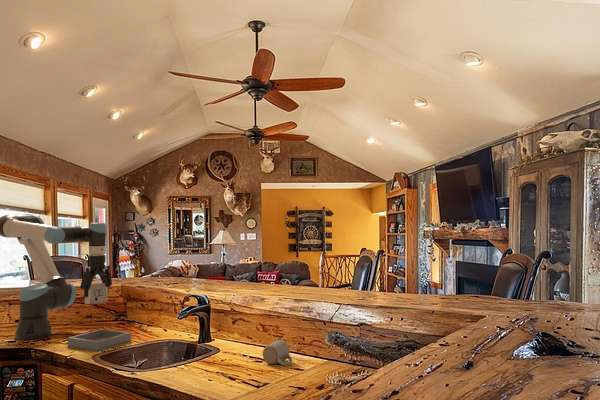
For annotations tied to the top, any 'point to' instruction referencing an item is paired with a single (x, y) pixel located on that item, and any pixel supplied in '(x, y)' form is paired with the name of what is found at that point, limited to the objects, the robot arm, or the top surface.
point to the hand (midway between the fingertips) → (96, 302)
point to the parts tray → (99, 340)
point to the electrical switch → (98, 293)
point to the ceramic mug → (277, 353)
